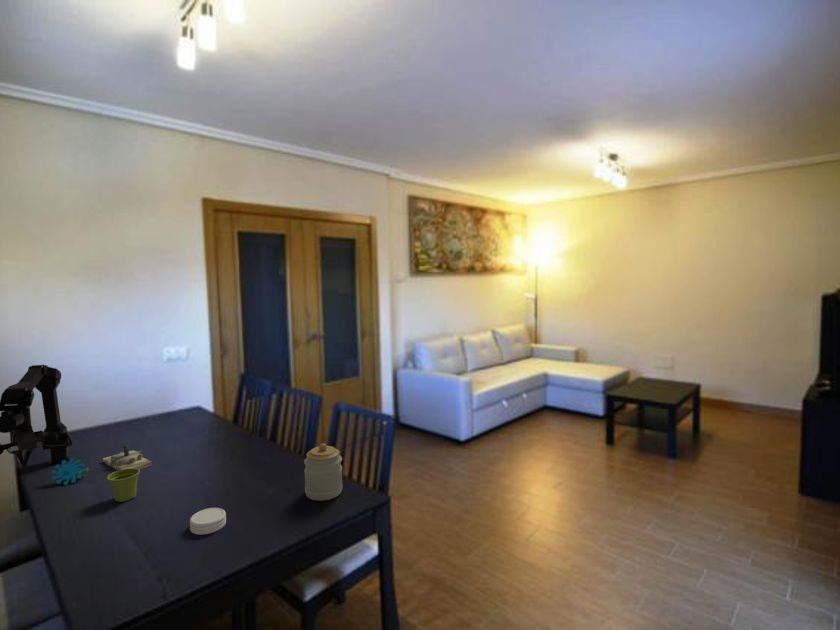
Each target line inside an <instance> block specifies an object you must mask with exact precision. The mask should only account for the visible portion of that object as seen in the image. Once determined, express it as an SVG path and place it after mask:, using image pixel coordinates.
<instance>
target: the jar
mask: <svg viewBox="0 0 840 630" xmlns="http://www.w3.org/2000/svg"><path fill="white" fill-rule="evenodd" d="M305 455H306V456H305V457H306V458H305V459H304V460H303V464H304V465H305V468H304V483H305V484H304V492H305V496H306V498H308V499H309V500H312V501H320V502H321V501H329V500H331V499H335V498H337V497H338V496H340V494H341V493H342V491H343V479H342V478H343V474H342V473H343V471H342V470H343V466H342V464H341V462H342V461H343V457H342V456H341V455H340V450H339V449H337V448H336V447H334V446H331V445H327V444H326V443H321V444H319V445H318V446H315V447H313V448H311V450H309V451H308V452H307V453H306V454H305Z"/></svg>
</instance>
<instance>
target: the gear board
mask: <svg viewBox="0 0 840 630" xmlns="http://www.w3.org/2000/svg"><path fill="white" fill-rule="evenodd" d="M129 446H130V445H129V444H126V445H123V451H121V452H119V453H117V454H114V455H110V456H106V457H103V458H102V463H104V464H105V465H107V466H110V467H111V468H112V469H114V468H115V469H114V470H116V469H117V470H116V471H118V470H122V469H127V468H137V469H139V470H142V469H144V468H145V469H146V468H148V467H151V466H152V465H153V462H152V461H151V460H149V459H148V458H145V457H143V455H144V454H143V451H142V450H139V451H136V450H135V449H132V450H130V449H129Z"/></svg>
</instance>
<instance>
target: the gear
mask: <svg viewBox="0 0 840 630" xmlns="http://www.w3.org/2000/svg"><path fill="white" fill-rule="evenodd" d="M69 458H70V459H69V461H68V463H67V461H66V460H63V461H62V463H61V464H62V467H60V466H61V465H60V463H58V464H55V466H54V468H55V469H57V470H58V471H56V470H55V469H53V470H52V471H51V475H53V476H52V478H51V479H52V481H56V484H57V485H60V484H61V483H62V482H63V483H62V484H63V485H64V486H68V484H69V481H71V484H74V483H76V482H77V480H76V477H77V479H79V480H80V479H82V478H83V477H86V476H85V475H86V474H87V472H89V471H90V468H89V467H86V468H85V463H84V462H82V463H81V460H80V459H78V458H77V460H74V458H71V457H69ZM55 475H57V476H55Z"/></svg>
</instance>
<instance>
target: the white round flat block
mask: <svg viewBox="0 0 840 630" xmlns="http://www.w3.org/2000/svg"><path fill="white" fill-rule="evenodd" d="M226 515H227V513H226V511H225V510H224V509H223V508H220V507H209V508H204V509H202V510H199V511H198V512H195V513H194V514H193V515H192V516H191V517H190V519H189V530H190V532H191V533H192V534H195V535H197V536H198V535H210V534H212V533H215V532H217V531H220V530H221V529H222V528H224V527H225V525H226V523H227V516H226Z"/></svg>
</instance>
